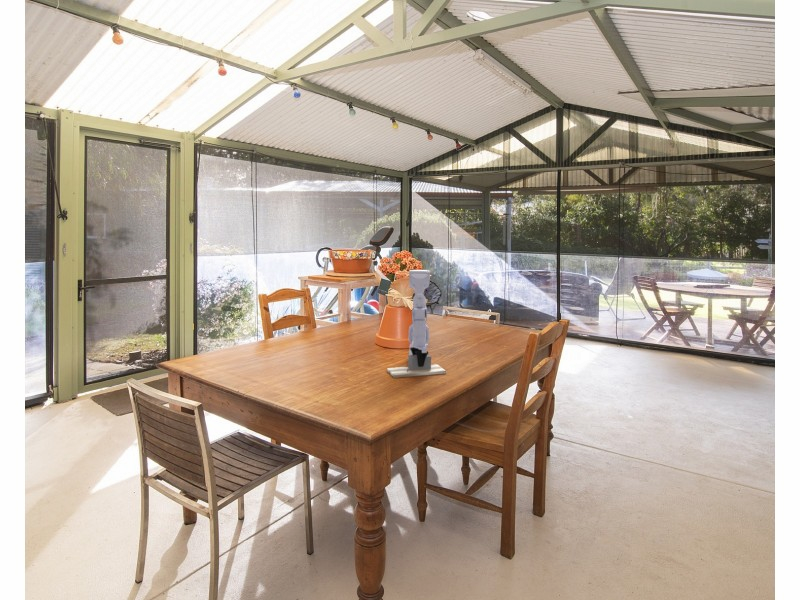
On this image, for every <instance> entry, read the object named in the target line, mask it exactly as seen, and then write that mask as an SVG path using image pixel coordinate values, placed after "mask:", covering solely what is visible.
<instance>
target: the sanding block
mask: <svg viewBox="0 0 800 600" xmlns="http://www.w3.org/2000/svg"><path fill="white" fill-rule="evenodd" d="M407 356H408V357H407V358H408V359H407V365H408V366H407V367H408V369H409V370H411V371H423V370H431V365H432V356H431V355H429V354H428V355H427V356H426V359H425V362H424V366H423V367H419V366H418V360H417V355H409V354H408V355H407Z"/></svg>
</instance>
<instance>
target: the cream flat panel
mask: <svg viewBox="0 0 800 600" xmlns="http://www.w3.org/2000/svg"><path fill="white" fill-rule="evenodd" d="M386 371H387V373H388V374H389V375H390V376H392V378H393V379H397V378H409V377H419V376H420V377H421V376H432V375H442V374H443V375H444V374H447V370H446V369H444V368H443V367H441V366H440V365H439V364H436V363H435V364H431V370H423V371H411V370H409V369H408V366H399V367H397V366H396V367H387V368H386Z"/></svg>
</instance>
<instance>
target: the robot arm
mask: <svg viewBox="0 0 800 600" xmlns="http://www.w3.org/2000/svg"><path fill="white" fill-rule="evenodd" d="M408 272H409V274H408V277H409V278H408V282H409V283H408V284H409V287H410V288H411V289H413V291H414V296H413V297H412V310H411V320H412V324H411V325H409V327H408V342H409V343H410V344H409V348H408V351H409V353H408V355H417V360H418V366H419V367H423V366H424V362H425V359H426V356H427V355H429V351H428V348H427V347H428V346H429V344H428V343H429V341H430V327H429V326H428V325H427V320H428V309H427V298H426V295H424V292H425V290H426V289H428V288H429V286H430V281H431V280H430V279H431V271H430V270H429V269H410V270H409V271H408ZM407 360H408V357H407Z"/></svg>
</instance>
